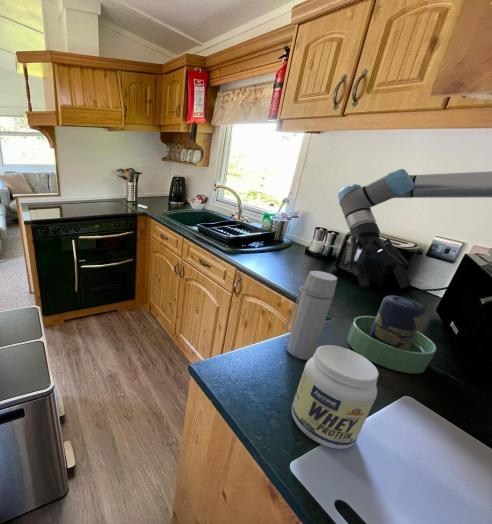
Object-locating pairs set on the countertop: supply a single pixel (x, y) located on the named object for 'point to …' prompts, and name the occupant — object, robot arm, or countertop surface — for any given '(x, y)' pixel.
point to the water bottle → (310, 314)
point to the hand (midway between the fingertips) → (385, 286)
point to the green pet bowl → (390, 348)
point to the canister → (397, 322)
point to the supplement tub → (335, 396)
